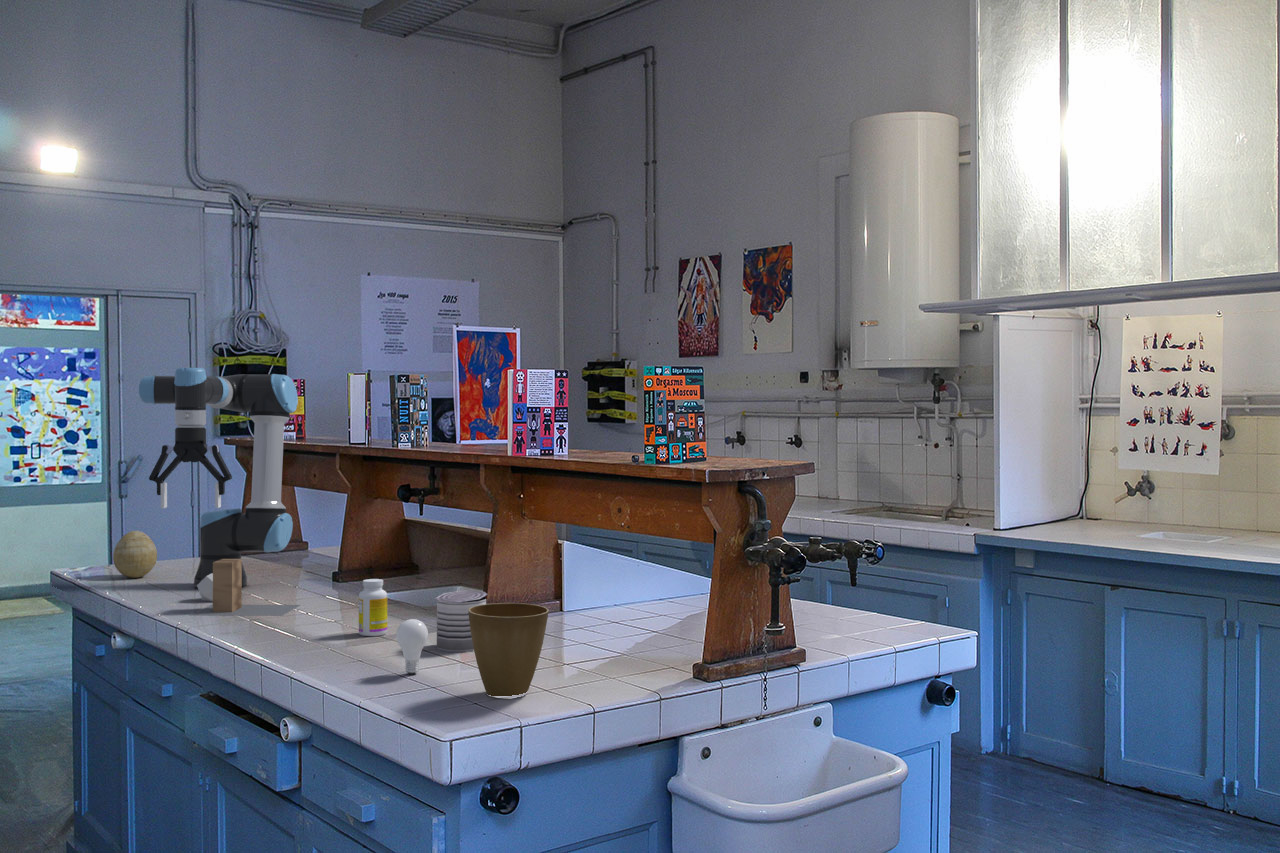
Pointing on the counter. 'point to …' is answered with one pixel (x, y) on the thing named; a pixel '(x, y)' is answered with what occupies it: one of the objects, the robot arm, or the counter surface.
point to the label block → (227, 585)
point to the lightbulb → (412, 642)
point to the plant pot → (507, 644)
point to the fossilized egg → (135, 554)
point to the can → (456, 619)
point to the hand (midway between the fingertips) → (191, 507)
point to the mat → (249, 611)
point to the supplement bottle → (372, 608)
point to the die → (206, 588)
